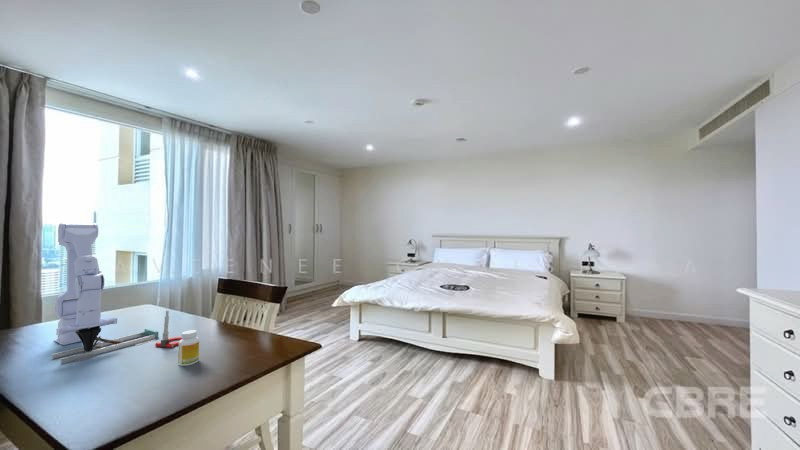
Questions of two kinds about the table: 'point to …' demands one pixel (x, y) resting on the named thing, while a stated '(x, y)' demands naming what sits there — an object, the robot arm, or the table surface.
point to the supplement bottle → (188, 348)
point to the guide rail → (147, 332)
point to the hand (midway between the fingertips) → (87, 350)
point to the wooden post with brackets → (104, 341)
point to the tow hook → (165, 340)
